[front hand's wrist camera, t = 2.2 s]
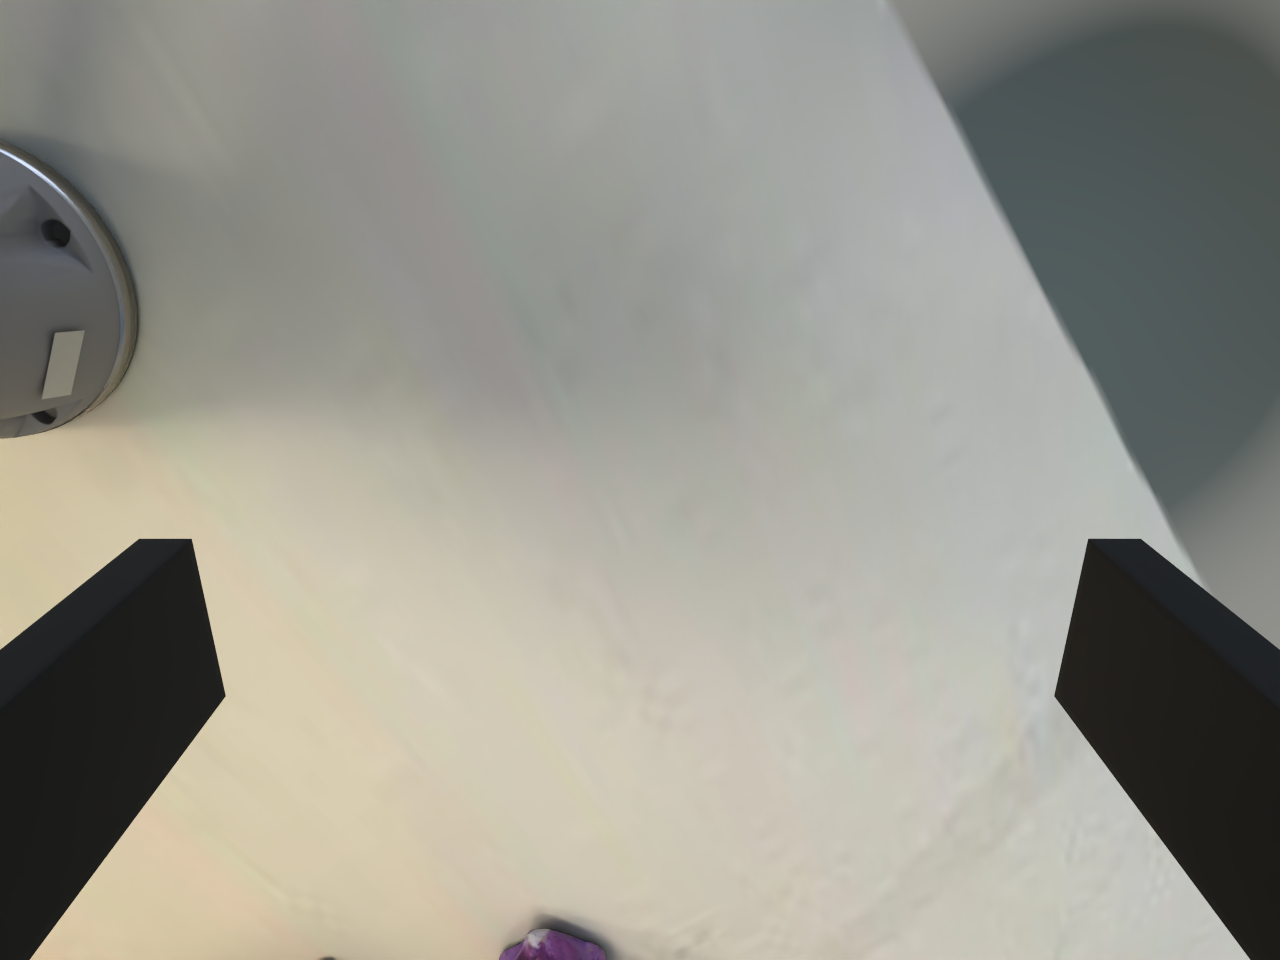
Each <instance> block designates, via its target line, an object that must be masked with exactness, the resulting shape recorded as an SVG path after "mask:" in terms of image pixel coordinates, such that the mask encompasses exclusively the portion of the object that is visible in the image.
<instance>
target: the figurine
mask: <svg viewBox="0 0 1280 960" xmlns="http://www.w3.org/2000/svg"><path fill="white" fill-rule="evenodd" d="M499 960H607V958H606V954H605V952H604V951H603V950H602V949H601V948H600V946H598V945H596V944H593V943H591V942H584V941H582V940H580V939H577V938H575V937H573V936H570V935H568V934H565V933H561V932H558V931H554V930H550V929H535V930H531V931H530V932H529V933H527V934H526V936H525V938H524V942H521V943H520V944H519V945H516V946H514V947H512V948H509V949H507V950H505V951H504V952H503V953H502V954H501V955H500V958H499Z"/></svg>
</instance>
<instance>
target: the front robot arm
mask: <svg viewBox="0 0 1280 960" xmlns="http://www.w3.org/2000/svg"><path fill="white" fill-rule="evenodd" d="M136 334H137V306H136V299H135V292H134V288H133V284H132V280H131V276H130V273H129V270H128V267H127V265H126V262H125V260H124V257H123V255H122V253H121V251H120V248H119V246H118V244H117V243H116V241H115V239H114V237H113V235H112V234H111V232H110V230H109V229H108V227H107V226H106V224H105V223H104V221H103V220H102V218H101V217H100V216H99V215H98V213H97V212H96V211H95V209H94V208H93V207H92V206H91V204H90V203H89V202H88V201H87V200H86V199H85V198H84V197H83V196H82V195H81V193H80V192H79V191H77V190H76V189H75V188H74V187H73V186H72V185H71V184H70V183H69V182H68V181H67V180H66V179H64V178H63V177H62V176H61V175H59V174H58V173H57V172H56V171H54V170H53V169H52V168H50V167H49V166H47V165H46V164H44V163H43V162H41V161H40V160H38V159H37V158H35V157H33V156H31V155H30V154H28V153H26V152H24V151H22V150H20V149H18V148H16V147H14V146H12V145H9V144H7V143H4V142H1V141H0V438H15V437H21V436H27V435H33V434H37V433H41V432H46V431H49V430H51V429H54V428H57V427H59V426H61V425H64V424H66V423H68V422H70V421H72V420H74V419H76V418H78V417H80V416H82V415H84V414H86V413H87V412H89V411H90V410H92V409H94V408H95V407H96V406H98V405H99V404H100V403H101V402H103V401H104V400H105V399H106V398H107V397H108V396H109V395H110V394H111V393H112V392H113V390H114V389H115V388H116V386H117V385H118V384H119V382H120V381H121V379H122V377H123V375H124V374H125V372H126V370H127V367H128V365H129V363H130V360H131V357H132V354H133V350H134V346H135V340H136ZM224 698H225V691H224V686H223V682H222V677H221V672H220V668H219V663H218V659H217V654H216V649H215V645H214V640H213V635H212V631H211V626H210V622H209V617H208V612H207V608H206V603H205V598H204V594H203V589H202V585H201V580H200V575H199V571H198V566H197V561H196V557H195V552H194V548H193V543H192V539H139V540H137V541H136V542H135V543H134V544H132V545H131V546H130V547H129V548H127V549H126V550H125V551H124V552H122V553H121V554H120V555H119V556H117V557H116V558H115V559H114V560H112V561H111V562H110V563H109V564H107V565H106V566H105V567H104V568H102V569H101V570H100V571H98V572H97V573H96V574H95V575H93V576H92V577H91V578H90V579H88V580H87V581H86V582H85V583H83V584H82V585H81V586H80V587H78V588H77V589H76V590H75V591H73V592H72V593H71V594H70V595H68V596H67V597H66V598H65V599H63V600H62V601H61V602H60V603H58V604H57V605H56V606H55V607H53V608H52V609H51V610H50V611H48V612H47V613H46V614H45V615H43V616H42V617H41V618H40V619H38V620H37V621H36V622H35V623H33V624H32V625H31V626H30V627H28V628H27V629H26V630H25V631H23V632H22V633H21V634H20V635H18V636H17V637H16V638H15V639H13V640H12V641H11V642H10V643H8V644H7V645H6V646H5V647H3V648H2V649H1V650H0V960H30V958H31V957H32V956H33V954H34V953H35V952H36V950H37V949H38V948H39V946H40V945H41V944H42V942H43V941H44V940H45V938H46V937H47V935H48V934H49V933H50V931H51V930H52V929H53V927H54V926H55V925H56V923H57V922H58V921H59V919H60V918H61V917H62V915H63V914H64V913H65V911H66V910H67V909H68V907H69V906H70V905H71V903H72V902H73V901H74V899H75V898H76V896H77V895H78V894H79V892H80V891H81V890H82V888H83V887H84V886H85V884H86V883H87V882H88V880H89V879H90V878H91V876H92V875H93V874H94V872H95V871H96V870H97V868H98V867H99V866H100V864H101V863H102V862H103V860H104V859H105V858H106V856H107V855H108V853H109V852H110V851H111V849H112V848H113V847H114V845H115V844H116V843H117V841H118V840H119V839H120V837H121V836H122V835H123V833H124V832H125V831H126V829H127V828H128V827H129V825H130V824H131V823H132V821H133V820H134V819H135V817H136V816H137V815H138V813H139V812H140V810H141V809H142V808H143V806H144V805H145V804H146V802H147V801H148V800H149V798H150V797H151V796H152V794H153V793H154V792H155V790H156V789H157V788H158V786H159V785H160V784H161V782H162V781H163V780H164V778H165V777H166V776H167V774H168V773H169V772H170V770H171V769H172V767H173V766H174V765H175V763H176V762H177V761H178V759H179V758H180V757H181V755H182V754H183V753H184V751H185V750H186V749H187V747H188V746H189V745H190V743H191V742H192V741H193V739H194V738H195V737H196V735H197V734H198V733H199V731H200V730H201V729H202V727H203V726H204V724H205V723H206V722H207V720H208V719H209V718H210V716H211V715H212V714H213V712H214V711H215V710H216V708H217V707H218V706H219V704H220V703H221V702H222V700H223V699H224ZM1055 698H1056V699H1057V700H1058V702H1059V703H1060V704H1061V706H1062V707H1063V708H1064V710H1065V711H1066V712H1067V714H1068V715H1069V716H1070V718H1071V719H1072V720H1073V722H1074V723H1075V724H1076V726H1077V727H1078V729H1079V730H1080V731H1081V733H1082V734H1083V735H1084V737H1085V738H1086V739H1087V741H1088V742H1089V743H1090V745H1091V746H1092V747H1093V749H1094V750H1095V751H1096V753H1097V754H1098V755H1099V757H1100V758H1101V759H1102V761H1103V762H1104V763H1105V765H1106V766H1107V767H1108V769H1109V770H1110V772H1111V773H1112V774H1113V776H1114V777H1115V778H1116V780H1117V781H1118V782H1119V784H1120V785H1121V786H1122V788H1123V789H1124V790H1125V792H1126V793H1127V794H1128V796H1129V797H1130V798H1131V800H1132V801H1133V802H1134V804H1135V805H1136V806H1137V808H1138V809H1139V810H1140V812H1141V813H1142V815H1143V816H1144V817H1145V819H1146V820H1147V821H1148V823H1149V824H1150V825H1151V827H1152V828H1153V829H1154V831H1155V832H1156V833H1157V835H1158V836H1159V837H1160V839H1161V840H1162V841H1163V843H1164V844H1165V845H1166V847H1167V848H1168V849H1169V851H1170V852H1171V853H1172V855H1173V856H1174V858H1175V859H1176V860H1177V862H1178V863H1179V864H1180V866H1181V867H1182V868H1183V870H1184V871H1185V872H1186V874H1187V875H1188V876H1189V878H1190V879H1191V880H1192V882H1193V883H1194V884H1195V886H1196V887H1197V888H1198V890H1199V891H1200V892H1201V894H1202V895H1203V896H1204V898H1205V899H1206V901H1207V902H1208V903H1209V905H1210V906H1211V907H1212V909H1213V910H1214V911H1215V913H1216V914H1217V915H1218V917H1219V918H1220V919H1221V921H1222V922H1223V923H1224V925H1225V926H1226V927H1227V929H1228V930H1229V931H1230V933H1231V934H1232V935H1233V937H1234V938H1235V940H1236V941H1237V942H1238V944H1239V945H1240V946H1241V948H1242V949H1243V950H1244V952H1245V953H1246V954H1247V956H1248V957H1249V958H1250V960H1280V650H1279V649H1278V648H1277V647H1275V646H1274V645H1273V644H1272V643H1270V642H1269V641H1268V640H1267V639H1265V638H1264V637H1263V636H1262V635H1260V634H1259V633H1258V632H1257V631H1255V630H1254V629H1253V628H1252V627H1250V626H1249V625H1248V624H1247V623H1245V622H1244V621H1243V620H1242V619H1240V618H1239V617H1238V616H1237V615H1235V614H1234V613H1233V612H1231V611H1230V610H1229V609H1228V608H1227V607H1225V606H1224V605H1223V604H1222V603H1220V602H1219V601H1218V600H1217V599H1215V598H1214V597H1213V596H1212V595H1210V594H1209V593H1208V592H1207V591H1205V590H1204V589H1203V588H1202V587H1200V586H1199V585H1198V584H1197V583H1195V582H1194V581H1193V580H1192V579H1190V578H1189V577H1188V576H1187V575H1185V574H1184V573H1183V572H1182V571H1180V570H1179V569H1178V568H1176V567H1175V566H1174V565H1173V564H1171V563H1170V562H1169V561H1168V560H1166V559H1165V558H1164V557H1163V556H1161V555H1160V554H1159V553H1158V552H1156V551H1155V550H1154V549H1153V548H1151V547H1150V546H1149V545H1148V544H1146V543H1145V542H1144V541H1143V540H1141V539H1088V543H1087V548H1086V552H1085V557H1084V561H1083V566H1082V571H1081V575H1080V580H1079V585H1078V589H1077V594H1076V598H1075V603H1074V608H1073V612H1072V617H1071V622H1070V626H1069V631H1068V635H1067V640H1066V645H1065V649H1064V654H1063V659H1062V663H1061V668H1060V672H1059V677H1058V682H1057V686H1056V691H1055Z"/></svg>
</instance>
